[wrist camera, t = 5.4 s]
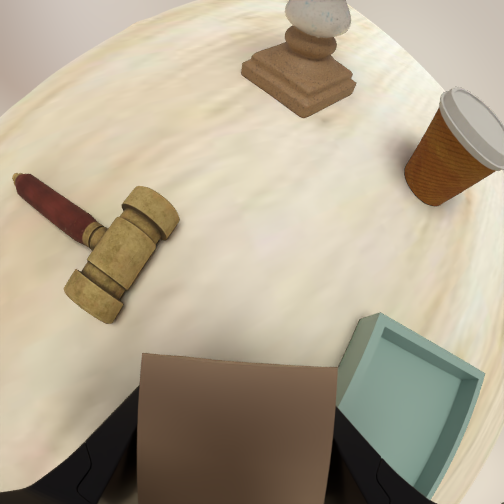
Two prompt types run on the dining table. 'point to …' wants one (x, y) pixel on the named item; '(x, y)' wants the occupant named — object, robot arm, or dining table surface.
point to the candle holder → (305, 58)
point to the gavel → (104, 241)
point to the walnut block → (233, 431)
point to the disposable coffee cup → (456, 148)
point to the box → (407, 398)
